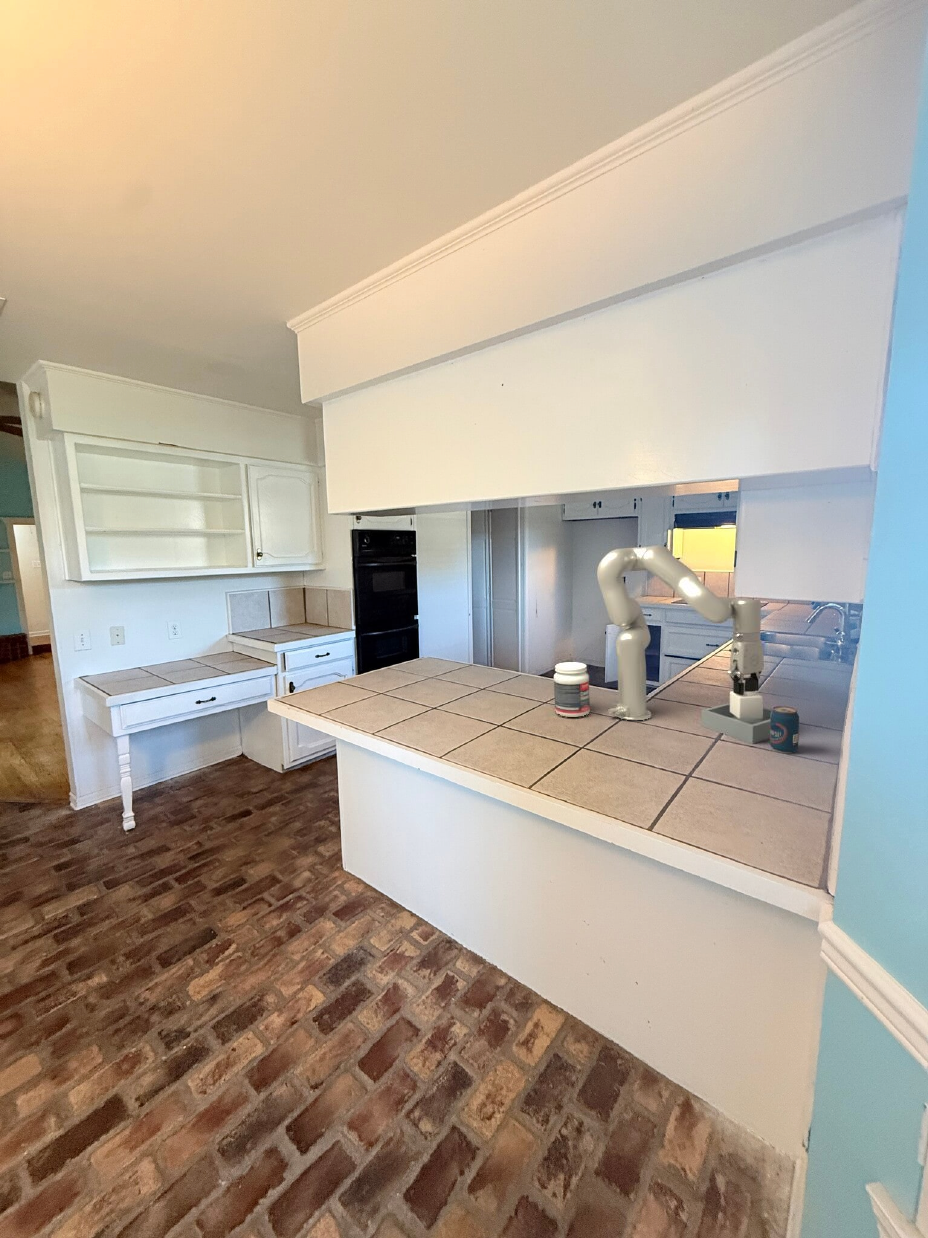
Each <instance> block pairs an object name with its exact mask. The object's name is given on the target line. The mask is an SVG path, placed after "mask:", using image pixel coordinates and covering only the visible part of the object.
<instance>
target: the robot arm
mask: <svg viewBox="0 0 928 1238" xmlns="http://www.w3.org/2000/svg"><path fill="white" fill-rule="evenodd" d="M596 570H597V572H596V577H597V582H598V585H599V588H600V591H601V595H602V598H603V601H604V604H605V608H606V611H607V614H608V617H609V620H610V622H611V623H612V624H613V625H614V626H616V627H619V628H620V633H619V635H618V636H617V638H616V641H615V652H616V653H615V654H616V661H617V691H618V692H617V693H618V694H617V696H618V697H617V698H618V699H617V701H618V703H616V704H615V707H614V708H612V707H611V708H609V709H608V710H607V712H608V714H609V715H614V714H615V715H616V716H617V717H620V718H621V719H620V720H622V719H627V720H643V721H645V720H644V719H647V720H649V719H650V718H652V712H651V711H650V710H648V709H647V664H646V662H647V661H646V655H645V654H646V653H645V651H646V649H647V647H648V646H649V645H650V642H651V634H650V629H649V627H648V624H647V620H646V618H645V615H644V612H643V609H642V607H641V605H640V603H639V602H638V601H637V600H636V599H634V598H632V597H631V596H630V594H629V592H628V590H627V585H626V583H625V581H624V578H623V574H624V573H627V572H638V571H640V572H641V571H649V572H650V573H651V574H652V575H653V576H655V577H656V578H657V579H659V580H660V581H661V582H663V583H664V585H666V586H667V587H668V588H670V589H671V590H673V591H674V592H675V593H676V595H677V596H678V597H680V598H681V599H682V600H683V601H684V602H685V603H686V604H687V605H688V606H689V607H691V608H692V609H693V610H694V611H695V612H697V613H698V614H699V615H700V616H702V617H703V618H704V619H706V620H707V621H709V622H710V623H712V624H722V623H725V622H727V621H728V620H729V619H732V645H731V649H730V662H729V665H730V667H729V669H728V671H727V675H728V676H729V677H730V679H731V681H732V682H733V690H732V691H733V693H735V694H739V695H744V683H742V681H743V678H745V675H746V676H747V675H749V676H748V677H747V678H751V679H754V680H756V681H757V692H758V691H759V684H760V683H759V679H760V678H761V673H762V671H763V670H764V668H765V658H764V656H765V655H764V647H763V643H762V640H761V628H762V626H761V621H762V620H761V618H762V617H761V616H762V615H761V613H762V602H761V600H760V599H759V600H750V599H743V597H738V598H737V597H728V596H718V595H716V594H715V593H714V592H712V591H711V590H710V589H709V588H708V587H707V586H705V585H704V583H703V582H702V581H701V580H700V579H699V577H698V575H697V573H695V572H694V571H693V570H692V569H691V568H690V567H688V566H687V564H684V563H683V562H681V561H680V560H679V559H678V558H676V557H675V556H674V555H673V554H672V553H671V550H670V549H669V548H668V547H666V546H664V545H662V544H661V545H659V544H657V545H656V544H655V545H650V546H640V547H639V546H637V547H627V548H626V547H625V548H624V547H623V548H616V549H613V550H611V551H609V552H608V553H607V554H606V555H604V557H603V558H602V559H601V560H600V561H599V563H598V566H597V569H596ZM738 675H739V676H738ZM615 715H614V716H615ZM616 716H615V717H616ZM617 717H616V718H617ZM648 718H649V719H648ZM627 720H626V721H627Z"/></svg>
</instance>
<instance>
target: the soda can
mask: <svg viewBox="0 0 928 1238" xmlns="http://www.w3.org/2000/svg"><path fill="white" fill-rule="evenodd" d="M772 710H773V711H772V712H771V714H770V739H769V744H770V745H769V746H771V748H772V750H773V751H775V752H778V753H782V752H783V753H782V754H793V753H792V752H794V753H795V752H796V751H797V750H798V748H799V741H800V740H799V739H800V738H799V737H800V715H799V713H798V710H797V709H796V708H794V707H790V706H785V705H784V706H782V705H780V706H774V707H773V708H772Z"/></svg>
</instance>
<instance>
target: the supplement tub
mask: <svg viewBox="0 0 928 1238" xmlns="http://www.w3.org/2000/svg"><path fill="white" fill-rule="evenodd" d="M587 667H588V665H587V664H585V663H582V662H576V661H574V662H572V661H571V662H560V663H557V664H556V665H555V667H554V671H555V673H554V675H553V688H554V689H553V691H554V693H553V694H554V712H555V711H556V712H555V713H556V714H557V715H558V714H560V715H563V716H583V717H585V716H584V715H586V714H587V715H588V714H589V713H590V711H591V704H590V703H591V701H590V700H591V699H590V675H589V674H588V672H587V671H588V668H587ZM560 715H559V716H560ZM587 715H586V716H587Z"/></svg>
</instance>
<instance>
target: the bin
mask: <svg viewBox="0 0 928 1238" xmlns="http://www.w3.org/2000/svg"><path fill="white" fill-rule="evenodd" d="M772 711H773V708H772V709H771V708H768V707H764V706H763V718H762V719H739V718H737V717H736V716H735V715H733V714H732V713H731V712H730V702H728V703H723V704H720V705H716V706H713V707H708V708H705V709H701V713H700V715H701V720H700V721H701V727H703V726H704V727H703V728H705V729H708V728H709V729H708V730H711V731H715V732H717V733H721V734H722V733H723V735H725V734H726V735H725V736H728V737H731V738H734V737H735V738H734V739H738V740H740V741H742V740H743V742H744V743H745V742H746V743H748V744H752V745H754V744H757V743H761V742H763V741H766V740H770V714H771V712H772Z"/></svg>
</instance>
